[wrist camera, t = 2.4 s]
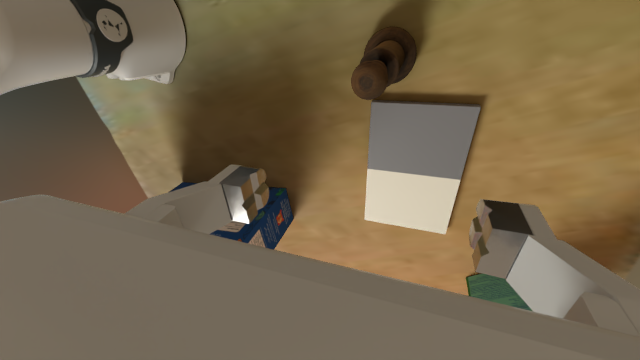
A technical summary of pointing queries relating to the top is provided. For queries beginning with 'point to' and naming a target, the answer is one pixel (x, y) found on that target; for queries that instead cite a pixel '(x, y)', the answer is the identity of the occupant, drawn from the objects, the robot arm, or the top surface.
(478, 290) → the milk carton
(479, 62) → the top surface
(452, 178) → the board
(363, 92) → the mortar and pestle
